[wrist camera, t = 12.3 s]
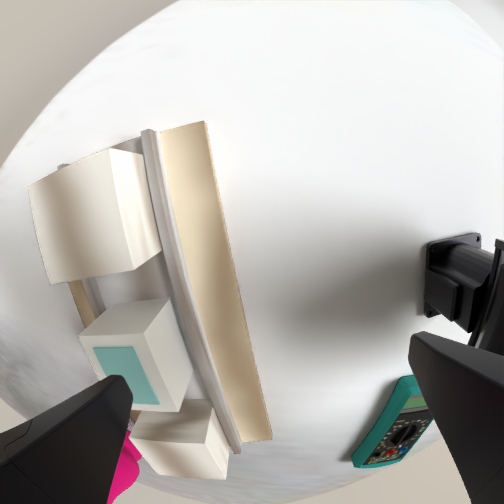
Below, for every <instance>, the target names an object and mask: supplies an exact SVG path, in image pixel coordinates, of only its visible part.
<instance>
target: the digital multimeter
mask: <svg viewBox="0 0 504 504" xmlns="http://www.w3.org/2000/svg"><path fill="white" fill-rule="evenodd" d="M433 419H434V418H433V416H432V414H431V412H430V410H429V409H428V407H427V405H426V403H425V401H424V398H423V396H422V394H421V391H420V389H419V386H418V384H417V381H416V379H415V376H414V375H412V376H406V377H402V378H401V379H400V380H399V381H398V383H397V385H396V387H395V389H394V391H393V393H392V395H391V397H390V399H389V401H388V403H387V405H386V407H385V409H384V411H383V412H382V414H381V416H380V417H379V419H378V421H377V422H376V424H375V425H374V427H373V428H372V430H371V431H370V433H369V434H368V435H367V437H366V438H365V440H364V441H363V442H362V444H361V445H360V446H359V448H358V449H357V450H356V451H355V452H354V454H353V455H352V456H351V458H352V461H353V465H354V467H356V468H376V467H382V466H386V465H390V464H393V463H396V462H399V461H401V460H402V459H403V458H404V456H405V455H406V454H407V453H408V452H409V450H410V449H411V448H412V447H413V445H414V444H415V443H416V442H417V440H418V439H419V438H420V436H421V435H422V434H423V432H424V431H425V430H426V429H427V427H428V426H429V425H430V423H431V422H432V420H433Z"/></svg>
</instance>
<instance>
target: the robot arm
mask: <svg viewBox="0 0 504 504" xmlns="http://www.w3.org/2000/svg"><path fill="white" fill-rule="evenodd" d="M476 238H477V240H476ZM432 247H433V251H431V249H432ZM495 247H496V248H495V253H494V254H493V253H490V252H488V251H485V250H482V249H481V235H480V234H479V233H471V234H466V235H462V236H457V237H453V238H448V239H444V240H439V241H434V242H430V243H429V244H428V245H427V249H426V274H425V295H424V300H425V304H424V315H425V316H426V317H428V318H430V317H433V316H436V315H439V314H442V315H443V316H445V317H446V318H447V319H448V320H449V321H451V322H452V321H454V322H455V323H457V324H458V325H459V326H460V327H461V328H462V329H464V330H465V331H466V332H467V333H471V332H472V334H471V337H470V339H469V342H468V344H467V345H465V344H462V343H459V342H456V341H453V340H450V339H446V338H443V337H440V336H437V335H434V334H431V333H428V332H425V331H422V332H419V333H416V334H413V335H412V336H411V339H410V347H409V354H408V361H409V364H410V367H411V369H412V372H413V374H414V376H415V379H416V381H417V384H418V386H419V389H420V391H421V394H422V396H423V398H424V401H425V403H426V405H427V407H428V409H429V410H430V412H431V414H432V416H433V418H434V420H435V422H436V424H437V426H438V428H439V430H440V432H441V434H442V436H443V438H444V440H445V442H446V444H447V446H448V448H449V451H450V453H451V455H452V457H453V459H454V462H455V464H456V466H457V468H458V471H459V473H460V475H461V478H462V480H463V482H464V485H465V487H466V490H467V492H468V495H469V498H470V499H471V504H504V240H501V239H496V241H495ZM429 311H430V312H429ZM132 404H133V394H132V391H131V390H130V388H129V386H128V384H127V382H126V380H125V378H124V377H123V376H122V375H115V374H112V375H109V376H107V377H106V378H104V379H102V380H100V381H99V382H97V383H95V384H94V385H92V386H90V387H88V388H87V389H85V390H83V391H81V392H79V393H78V394H76V395H74V396H72V397H71V398H69V399H67V400H65V401H63V402H62V403H60V404H58V405H56V406H54V407H52V408H51V409H49V410H47V411H45V412H43V413H41V414H39V415H38V416H36V417H34V418H32V419H30V420H28V421H26V422H24V423H22V424H20V425H18V426H16V427H14V428H12V429H9V430H8V431H5V432H3V433H0V504H107V501H108V497H109V493H110V490H111V486H112V482H113V478H114V475H115V471H116V468H117V464H118V461H119V457H120V454H121V451H122V447H123V444H124V441H125V437H126V433H127V428H128V423H129V418H130V413H131V408H132Z"/></svg>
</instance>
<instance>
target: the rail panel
mask: <svg viewBox="0 0 504 504" xmlns="http://www.w3.org/2000/svg"><path fill="white" fill-rule="evenodd" d="M28 190H29V197H30V203H31V209H32V215H33V220H34V225H35V230H36V235H37V239H38V243H39V248H40V252H41V255H42V259H43V263H44V266H45V270H46V273H47V276H48V280H49V283H50V285H51V284H57V283H63V282H68V283H69V286H70V289H71V292H72V295H73V298H74V301H75V303H76V306H77V309H78V311H79V314H80V317H81V319H82V322H83V324H84V327H85V329H86V328H87V327H88V326H89V325H90V324H91V323H92V322H93V321H94V320H96V319H97V318H98V317H99V316H100V315H101V314H102V313H103V312H104V311H106V310H107V309H108V308H109V307H110V306H111V305H112V304H118V303H127V302H136V301H144V300H152V299H160V298H167V297H171V299H172V302H173V305H174V309H175V312H176V315H177V318H178V321H179V324H180V328H181V331H182V334H183V337H184V340H185V342H186V345H187V348H188V351H189V354H190V357H191V360H192V362H193V365H194V369H193V372H192V375H191V378H190V381H189V384H188V387H187V389H186V392H185V395H184V398H183V401H182V404H181V407H180V410H179V412H159V411H142V410H131V413H130V416H131V417H132V419H133V420H134V422H135V425H134V427H133V429H132V431H131V433H130V435H129V439H130V440H131V442H132V443H133V444H134V446H135V447H136V448H137V449H138V451H139V452H140V453H141V455H142V456H143V457H144V458H145V459H146V461H147V462H148V463H149V464H150V465H151V467H152V468H153V469H154V470H155V471H156V472H157V473H158V474H160V475H167V476H176V477H186V478H200V479H226V474H227V466H228V457H229V449H230V447H231V448H232V450H233V452H234V454H241V446H242V442H251V441H264V440H272V431H271V427H270V423H269V418H268V414H267V410H266V406H265V402H264V398H263V394H262V390H261V385H260V381H259V377H258V373H257V368H256V364H255V360H254V355H253V351H252V346H251V342H250V338H249V333H248V329H247V324H246V320H245V315H244V311H243V306H242V301H241V297H240V292H239V288H238V283H237V278H236V273H235V269H234V264H233V259H232V254H231V249H230V244H229V240H228V235H227V230H226V225H225V220H224V215H223V210H222V204H221V199H220V194H219V189H218V184H217V179H216V173H215V168H214V163H213V157H212V152H211V146H210V141H209V135H208V130H207V124H206V123H205V122H204V121H200V122H196V123H192V124H188V125H185V126H181V127H177V128H174V129H170V130H167V131H164V132H157V131H153V130H151V129H147V130H144V131H141V136H140V137H137V138H134V139H131V140H128V141H126V142H123V143H120V144H118V145H115V146H112V147H110V148H107V149H105V150H102V151H100V152H97V153H95V154H93V155H90V156H88V157H86V158H83V159H81V160H79V161H77V162H75V163H72V164H62V165H60V166H58V171H56V172H54V173H52V174H50V175H48V176H46V177H44V178H42V179H41V180H39V181H37V182H35V183H33V184H31V185H30V186H28Z"/></svg>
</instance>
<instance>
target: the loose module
mask: <svg viewBox="0 0 504 504" xmlns="http://www.w3.org/2000/svg"><path fill="white" fill-rule="evenodd" d="M78 338H79V341H80V343H81V345H82V347H83V349H84V351H85V353H86V356H87V358H88V360H89V362H90V364H91V366H92V368H93V369H94V371H95V373H96V375H97V377H98V379H99V381H100V380H102V379H104V378H106V377H107V376H109V375H112V374H115V375H122V376H123V377H124V378H125V380H126V382H127V384H128V386H129V388H130V390H131V391H132V394H133V404H132V408H131V410H142V411H159V412H179V410H180V407H181V404H182V401H183V398H184V395H185V392H186V389H187V387H188V384H189V381H190V378H191V375H192V372H193V369H194V365H193V362H192V360H191V357H190V354H189V351H188V348H187V345H186V342H185V340H184V337H183V334H182V331H181V328H180V324H179V321H178V318H177V315H176V312H175V309H174V305H173V302H172V299H171V297H167V298H160V299H152V300H144V301H136V302H127V303H118V304H112V305H111V306H110V307H109V308H108V309H107V310H106V311H104V312H103V313H102V314H101V315H100V316H99V317H98V318H97V319H96V320H94V321H93V322H92V323H91V324H90V325H89V326H88V327H87V328H86V329H85V330H83V331H82V332H81V333H80V334H79V335H78Z"/></svg>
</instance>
